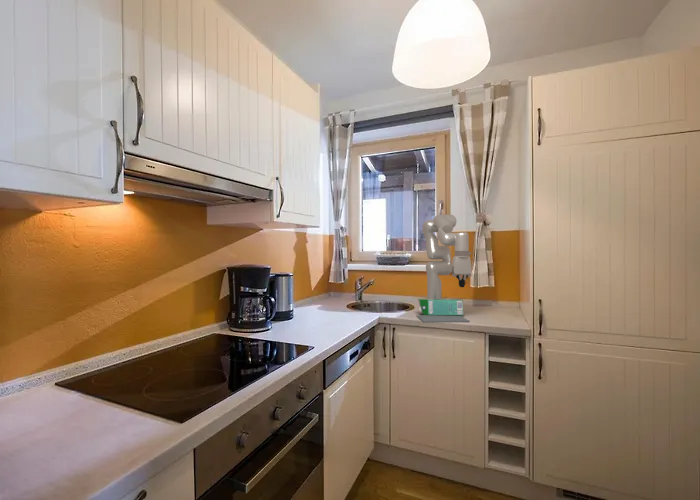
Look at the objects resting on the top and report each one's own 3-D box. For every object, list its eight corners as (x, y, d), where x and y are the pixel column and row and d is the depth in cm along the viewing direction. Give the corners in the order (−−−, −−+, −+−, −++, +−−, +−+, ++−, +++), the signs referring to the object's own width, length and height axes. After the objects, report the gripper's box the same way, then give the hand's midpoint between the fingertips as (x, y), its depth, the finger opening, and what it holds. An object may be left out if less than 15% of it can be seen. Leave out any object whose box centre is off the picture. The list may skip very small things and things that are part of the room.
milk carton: (459, 314, 194) (418, 313, 197) (459, 299, 196) (417, 298, 198) (463, 315, 186) (419, 315, 188) (462, 299, 187) (419, 299, 189)
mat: (416, 316, 188) (416, 315, 188) (458, 316, 189) (458, 314, 189) (423, 322, 172) (423, 320, 172) (469, 322, 173) (469, 320, 173)
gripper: (472, 254, 185) (472, 286, 185) (446, 254, 185) (446, 286, 184) (477, 254, 177) (477, 287, 177) (450, 254, 177) (450, 287, 177)
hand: (461, 286), depth 181 cm, fingers closed
